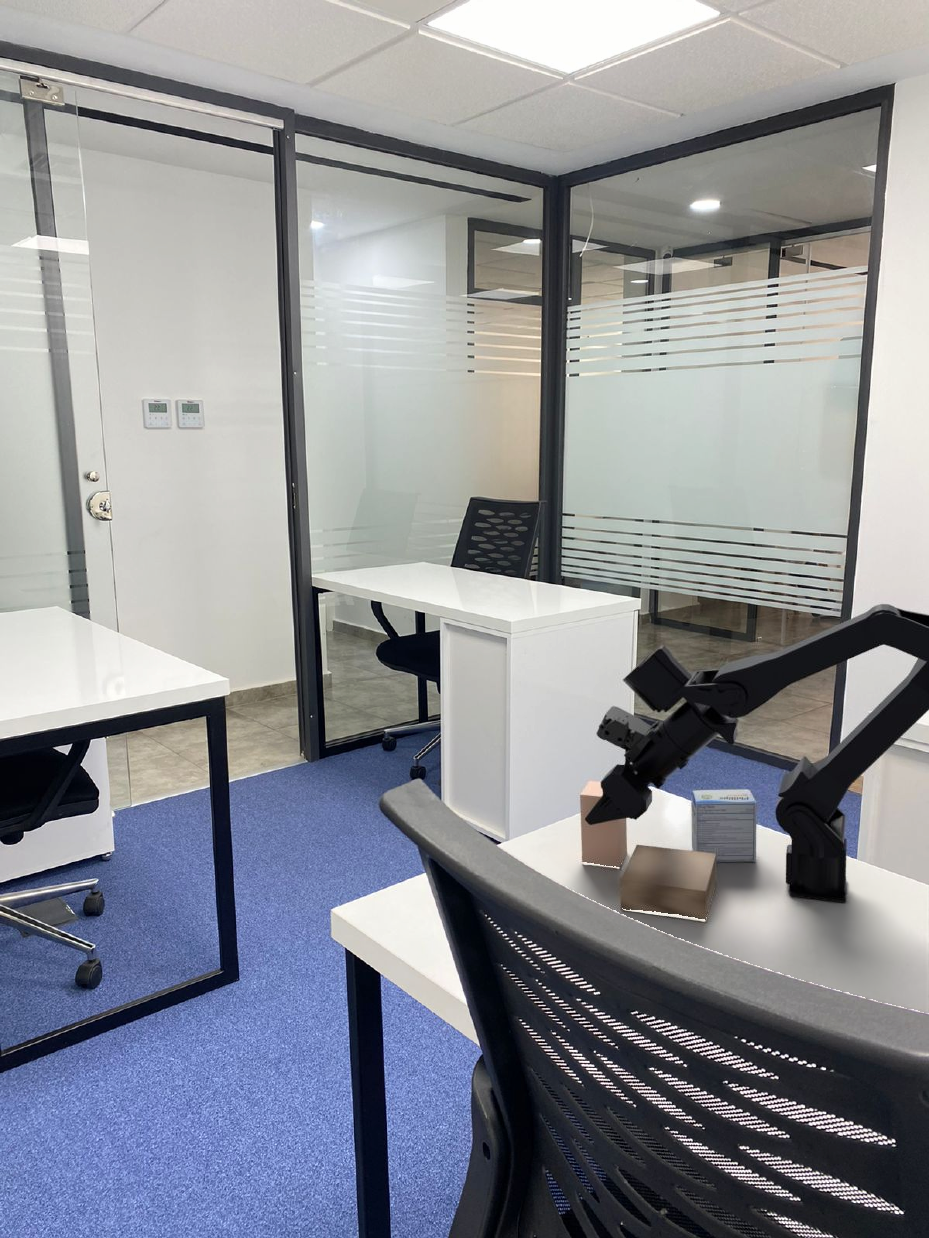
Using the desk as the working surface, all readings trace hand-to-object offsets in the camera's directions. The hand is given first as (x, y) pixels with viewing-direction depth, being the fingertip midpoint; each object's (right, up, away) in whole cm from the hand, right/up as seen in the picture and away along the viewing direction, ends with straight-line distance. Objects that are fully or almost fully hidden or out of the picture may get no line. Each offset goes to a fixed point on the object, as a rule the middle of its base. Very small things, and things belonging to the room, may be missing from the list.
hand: (596, 808), depth 124 cm
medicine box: (+17, -7, 0) cm, 18 cm away
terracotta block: (+1, -7, +1) cm, 7 cm away
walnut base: (+8, -9, -10) cm, 15 cm away
